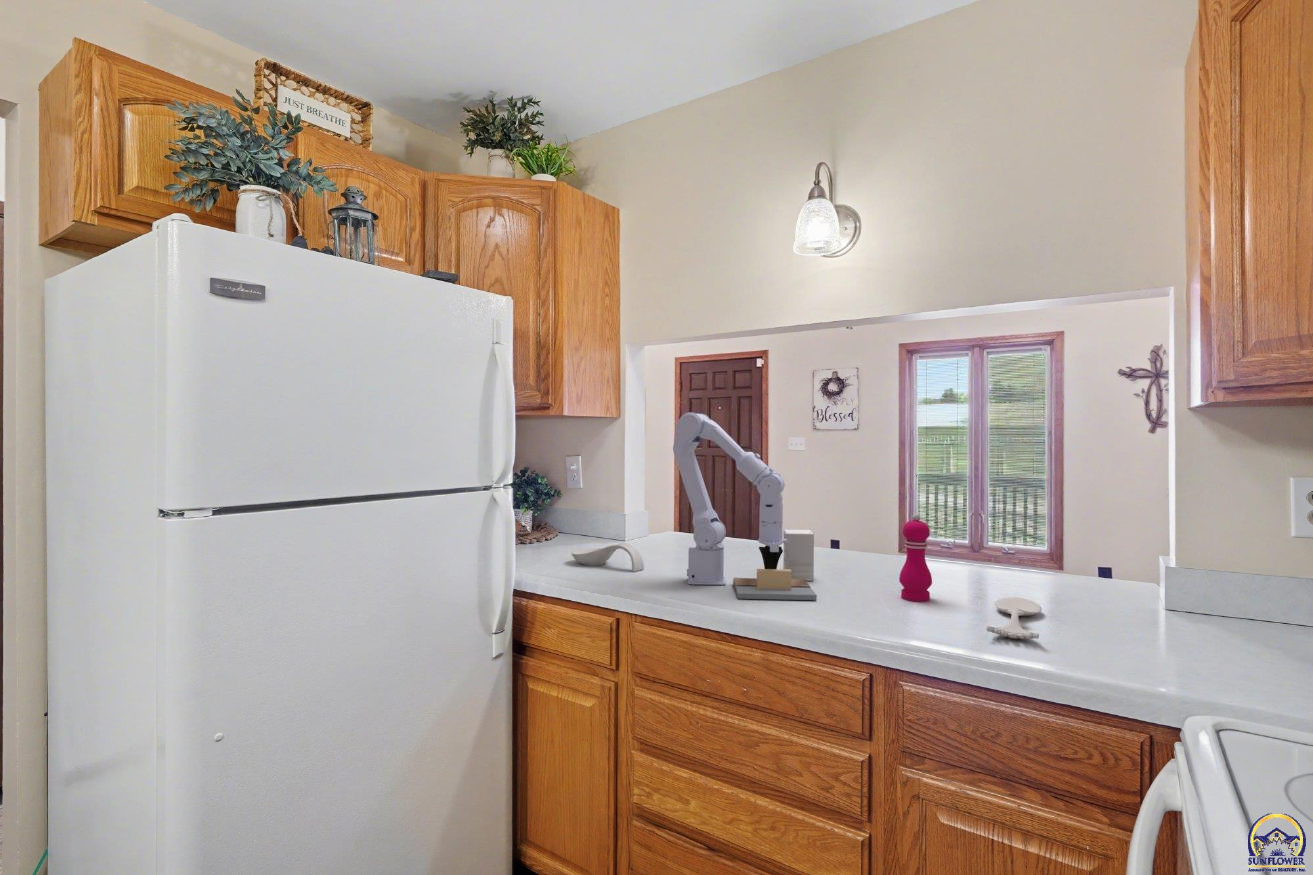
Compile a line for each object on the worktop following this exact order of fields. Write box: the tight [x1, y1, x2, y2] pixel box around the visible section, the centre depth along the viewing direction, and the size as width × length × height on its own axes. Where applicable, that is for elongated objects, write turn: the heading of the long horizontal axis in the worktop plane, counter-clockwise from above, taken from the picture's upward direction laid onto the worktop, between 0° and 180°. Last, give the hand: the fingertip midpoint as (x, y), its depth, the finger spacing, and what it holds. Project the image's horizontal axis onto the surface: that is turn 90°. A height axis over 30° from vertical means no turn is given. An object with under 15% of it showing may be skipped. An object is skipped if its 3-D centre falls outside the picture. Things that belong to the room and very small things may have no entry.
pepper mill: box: [898, 513, 933, 602], centre depth 154 cm, size 7×7×20 cm
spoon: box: [986, 596, 1043, 640], centre depth 133 cm, size 9×32×4 cm, turn 149°
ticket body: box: [732, 577, 811, 592], centre depth 163 cm, size 18×8×2 cm, turn 87°
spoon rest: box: [571, 542, 645, 573], centre depth 189 cm, size 24×12×7 cm, turn 55°
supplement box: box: [782, 528, 815, 582], centre depth 175 cm, size 7×7×13 cm
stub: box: [735, 568, 818, 601], centre depth 155 cm, size 18×7×6 cm, turn 87°
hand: (770, 576), depth 164 cm, fingers closed
